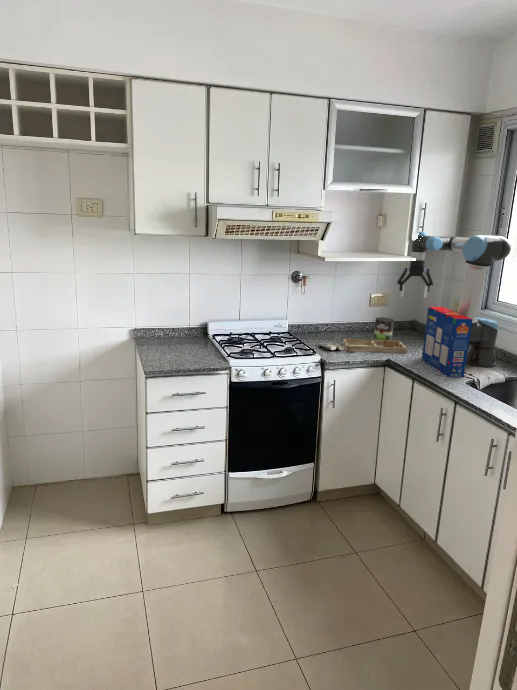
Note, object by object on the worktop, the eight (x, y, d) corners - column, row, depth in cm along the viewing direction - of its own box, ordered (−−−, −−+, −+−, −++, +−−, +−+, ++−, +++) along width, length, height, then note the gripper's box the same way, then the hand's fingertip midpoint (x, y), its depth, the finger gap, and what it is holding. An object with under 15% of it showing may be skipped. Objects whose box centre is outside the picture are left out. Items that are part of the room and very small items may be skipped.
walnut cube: (393, 350, 282) (394, 342, 281) (385, 349, 282) (386, 341, 281) (391, 347, 286) (392, 339, 285) (383, 347, 286) (384, 339, 285)
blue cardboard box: (463, 377, 243) (472, 319, 236) (447, 377, 242) (456, 318, 235) (436, 359, 270) (443, 307, 263) (421, 359, 269) (428, 306, 261)
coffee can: (388, 346, 292) (391, 322, 288) (371, 343, 297) (373, 319, 293) (393, 342, 301) (396, 319, 297) (375, 339, 306) (378, 316, 302)
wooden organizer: (406, 354, 277) (407, 348, 276) (347, 352, 276) (347, 346, 275) (398, 346, 292) (399, 340, 291) (342, 344, 292) (342, 338, 291)
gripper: (436, 259, 295) (432, 296, 301) (393, 258, 294) (390, 295, 299) (441, 260, 288) (437, 298, 293) (397, 259, 287) (393, 297, 292)
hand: (413, 297), depth 296 cm, fingers open, 13 cm apart
